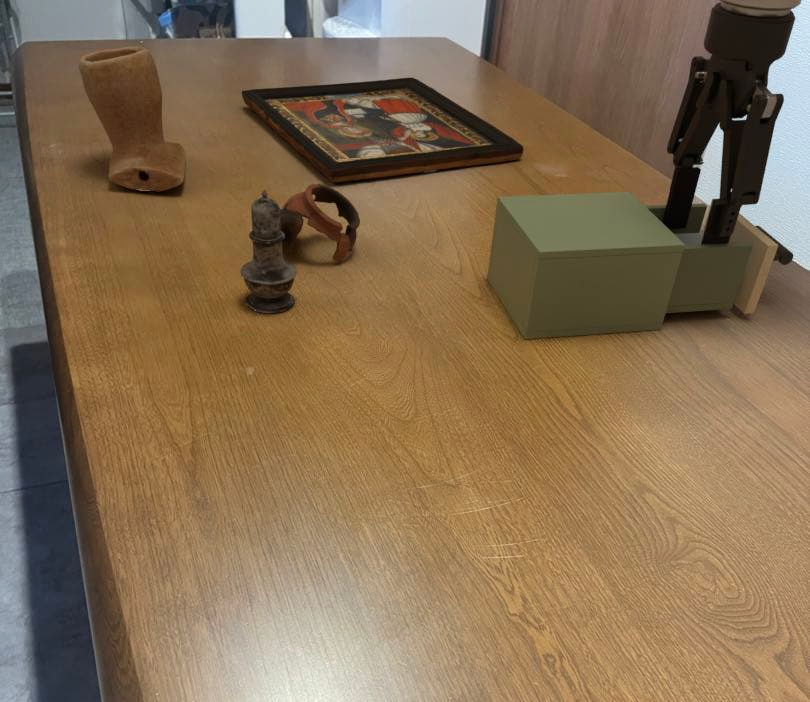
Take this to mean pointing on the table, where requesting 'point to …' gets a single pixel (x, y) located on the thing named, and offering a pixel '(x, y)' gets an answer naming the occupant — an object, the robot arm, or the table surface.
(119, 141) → the clay pipe bowl
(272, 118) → the framed icon painting
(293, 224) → the broken clay pot
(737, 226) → the drawer
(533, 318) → the cabinet
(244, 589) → the table surface
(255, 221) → the salt shaker
